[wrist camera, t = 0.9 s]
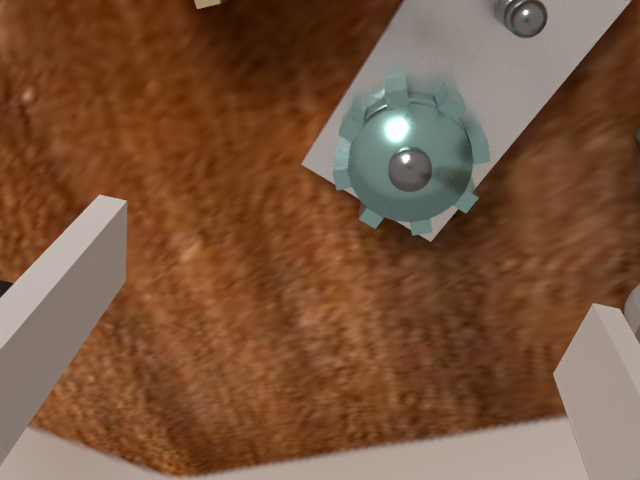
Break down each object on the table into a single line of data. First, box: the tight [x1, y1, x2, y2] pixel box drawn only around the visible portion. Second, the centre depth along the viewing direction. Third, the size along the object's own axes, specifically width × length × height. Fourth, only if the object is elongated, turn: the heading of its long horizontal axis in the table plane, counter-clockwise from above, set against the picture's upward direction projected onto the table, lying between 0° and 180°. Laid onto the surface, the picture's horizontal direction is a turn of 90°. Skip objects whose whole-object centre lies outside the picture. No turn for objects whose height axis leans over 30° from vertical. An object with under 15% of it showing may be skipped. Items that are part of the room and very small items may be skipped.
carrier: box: [301, 0, 631, 242], centre depth 32 cm, size 10×18×6 cm, turn 149°
